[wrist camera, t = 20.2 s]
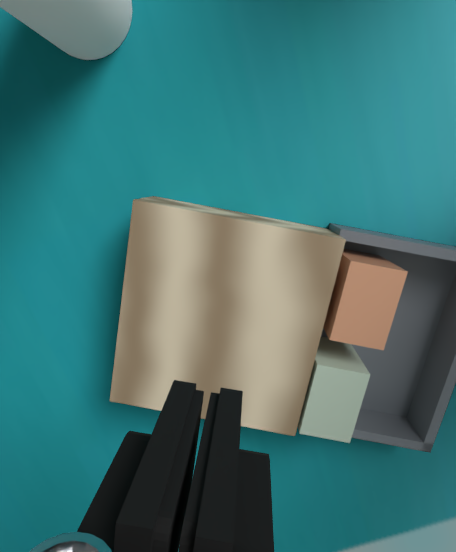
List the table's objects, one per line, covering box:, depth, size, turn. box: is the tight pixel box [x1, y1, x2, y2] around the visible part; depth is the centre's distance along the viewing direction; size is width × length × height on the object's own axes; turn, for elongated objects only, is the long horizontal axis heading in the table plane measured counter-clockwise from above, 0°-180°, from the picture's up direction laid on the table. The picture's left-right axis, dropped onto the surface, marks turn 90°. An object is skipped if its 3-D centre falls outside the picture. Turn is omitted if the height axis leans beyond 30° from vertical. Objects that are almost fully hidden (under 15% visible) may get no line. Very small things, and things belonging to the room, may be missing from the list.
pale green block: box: [298, 337, 370, 443], centre depth 32 cm, size 6×6×4 cm
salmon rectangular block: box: [323, 249, 408, 350], centre depth 30 cm, size 6×6×4 cm
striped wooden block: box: [110, 196, 346, 436], centre depth 32 cm, size 15×16×6 cm
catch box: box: [321, 223, 456, 452], centre depth 33 cm, size 12×17×4 cm
